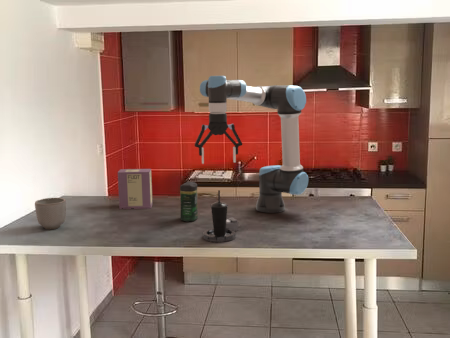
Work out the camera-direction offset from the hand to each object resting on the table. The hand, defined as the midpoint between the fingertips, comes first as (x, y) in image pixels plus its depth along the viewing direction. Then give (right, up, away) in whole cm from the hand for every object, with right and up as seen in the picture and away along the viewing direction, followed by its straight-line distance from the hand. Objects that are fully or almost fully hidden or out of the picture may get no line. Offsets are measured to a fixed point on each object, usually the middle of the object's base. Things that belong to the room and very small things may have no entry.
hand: (218, 162), depth 224 cm
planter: (-79, -31, +24) cm, 88 cm away
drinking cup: (0, -32, +5) cm, 32 cm away
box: (-46, -23, +62) cm, 80 cm away
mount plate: (0, -33, +6) cm, 33 cm away
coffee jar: (-15, -28, +35) cm, 47 cm away
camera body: (+4, -31, +17) cm, 35 cm away
